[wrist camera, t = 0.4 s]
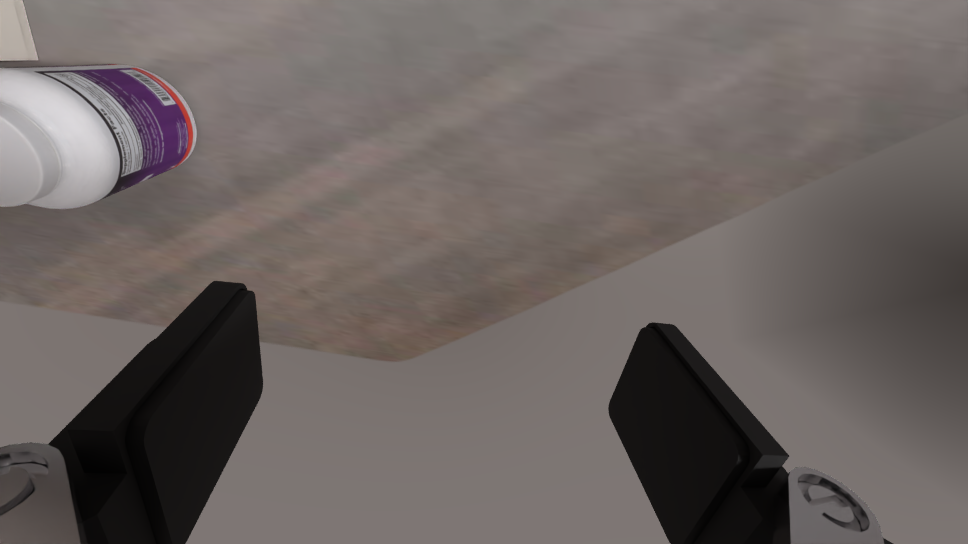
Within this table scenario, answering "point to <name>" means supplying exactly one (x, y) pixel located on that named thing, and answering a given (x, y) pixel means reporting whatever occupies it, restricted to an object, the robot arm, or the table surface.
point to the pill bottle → (87, 132)
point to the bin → (15, 32)
